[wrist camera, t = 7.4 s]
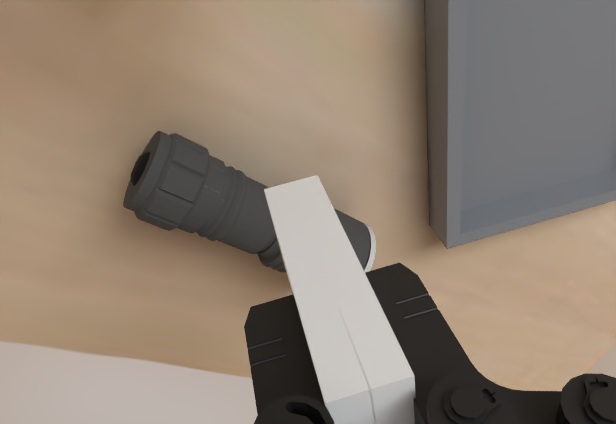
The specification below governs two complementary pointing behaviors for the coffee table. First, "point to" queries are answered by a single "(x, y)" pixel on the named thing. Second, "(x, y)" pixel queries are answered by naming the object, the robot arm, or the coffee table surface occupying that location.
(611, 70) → the box
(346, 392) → the robot arm
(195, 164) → the flashlight
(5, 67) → the coffee table surface
